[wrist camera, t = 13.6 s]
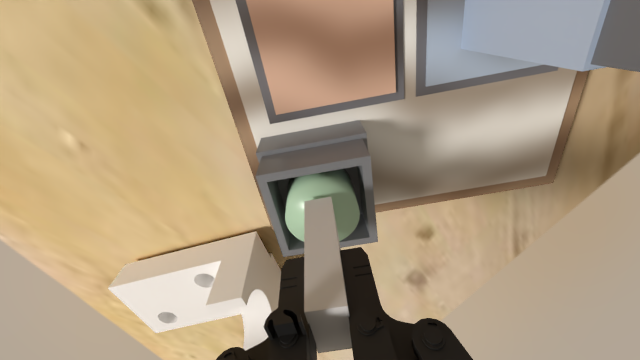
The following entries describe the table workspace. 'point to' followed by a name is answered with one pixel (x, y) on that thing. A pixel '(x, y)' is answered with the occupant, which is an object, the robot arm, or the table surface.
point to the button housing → (310, 158)
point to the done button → (322, 187)
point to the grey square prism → (556, 32)
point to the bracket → (204, 286)
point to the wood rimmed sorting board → (393, 92)
